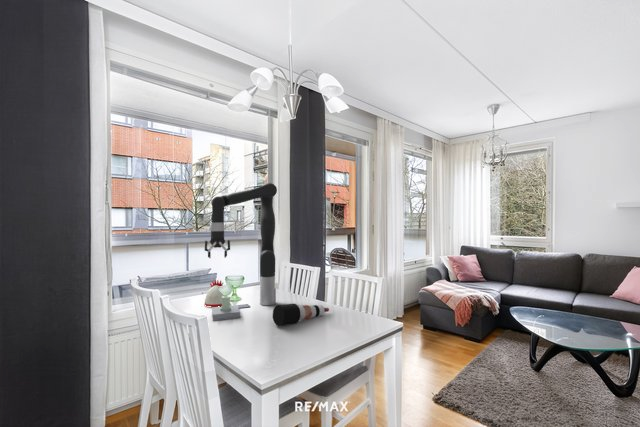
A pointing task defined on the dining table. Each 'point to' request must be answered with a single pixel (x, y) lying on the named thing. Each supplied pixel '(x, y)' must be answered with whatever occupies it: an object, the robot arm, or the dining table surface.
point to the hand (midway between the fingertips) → (217, 257)
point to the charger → (226, 303)
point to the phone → (243, 306)
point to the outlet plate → (225, 313)
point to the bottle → (296, 313)
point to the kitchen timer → (214, 295)
